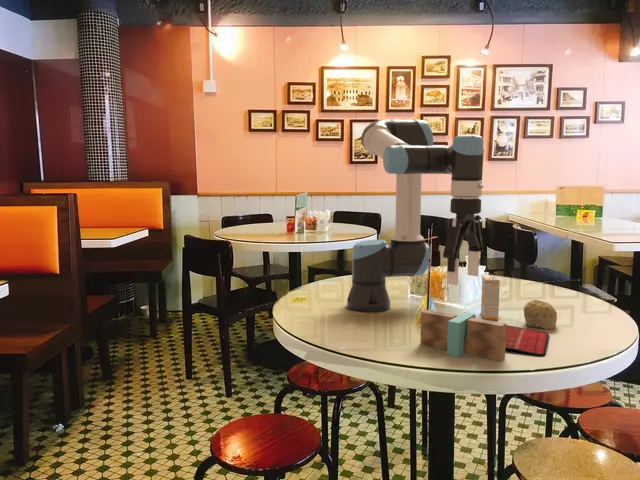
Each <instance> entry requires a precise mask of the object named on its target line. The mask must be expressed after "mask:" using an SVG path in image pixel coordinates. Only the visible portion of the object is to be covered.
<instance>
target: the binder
mask: <svg viewBox="0 0 640 480" xmlns="http://www.w3.org/2000/svg"><path fill="white" fill-rule="evenodd" d="M549 339H550V334H549V333H548V332H546V331H540V330H535V329H530V328H529V329H528V328H525V327H519V326H513V325H509V324H506V347H505V353H511V354H517V355H524V356H525V355H526V356H533V357H541V358H542V357H545V356H546V352H547V349H548V344H549Z"/></svg>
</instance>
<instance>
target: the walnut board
mask: <svg viewBox="0 0 640 480" xmlns="http://www.w3.org/2000/svg"><path fill="white" fill-rule="evenodd" d="M457 316H458V314H453V313H446V312H442V311H435V310H431V309H425V310H422V311H421V312H420V345H423V346H429V347H433V348H437V349H442V350H446V351H447V335H448V321H449V320H451V319H453V318H455V317H457ZM506 325H508V323H506V322H501V321H496V320H488V319H483V318H476V317H475V318H470V319H468V320H467V336H465V337H464V353H463V354H465V355H470V356H475V357H478V358H483V359H489V360H492V361H493V360H494V361H497V362H502V361H503V360H505V359H506V352H505V347H506Z"/></svg>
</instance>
